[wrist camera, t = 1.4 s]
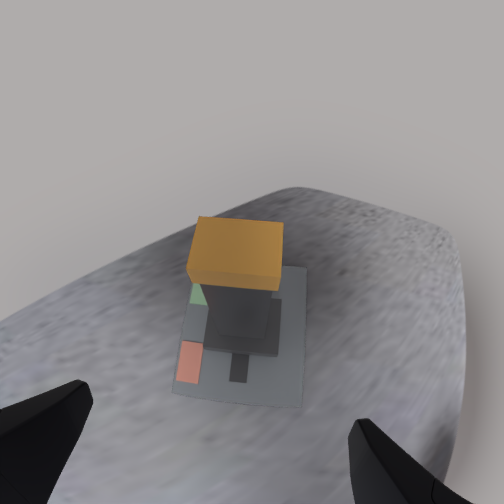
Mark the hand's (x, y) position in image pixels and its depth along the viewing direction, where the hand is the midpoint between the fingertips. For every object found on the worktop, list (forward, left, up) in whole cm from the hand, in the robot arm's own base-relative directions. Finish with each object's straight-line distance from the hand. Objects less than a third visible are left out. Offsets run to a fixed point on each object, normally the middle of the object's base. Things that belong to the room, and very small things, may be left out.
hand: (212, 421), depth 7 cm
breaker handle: (+6, 0, -10) cm, 12 cm away
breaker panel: (+6, 0, -13) cm, 14 cm away
